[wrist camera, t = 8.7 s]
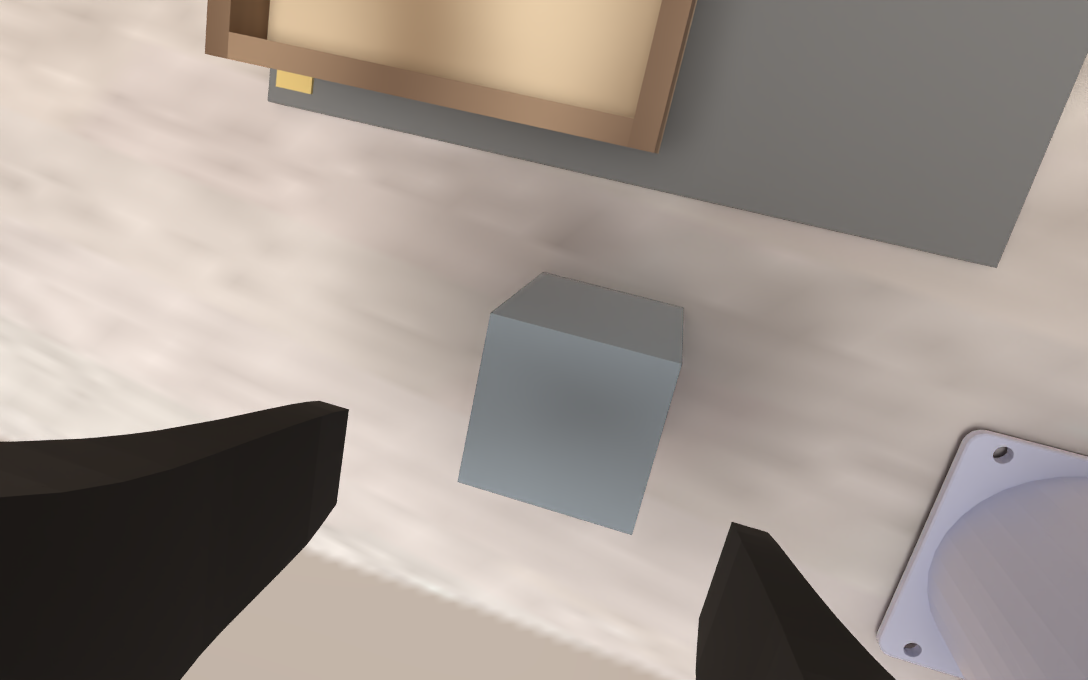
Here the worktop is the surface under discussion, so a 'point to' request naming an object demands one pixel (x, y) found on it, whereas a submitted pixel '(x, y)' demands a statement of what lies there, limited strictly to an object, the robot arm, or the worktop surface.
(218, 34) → the shallow wooden tray
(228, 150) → the worktop surface
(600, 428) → the block
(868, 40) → the plate
